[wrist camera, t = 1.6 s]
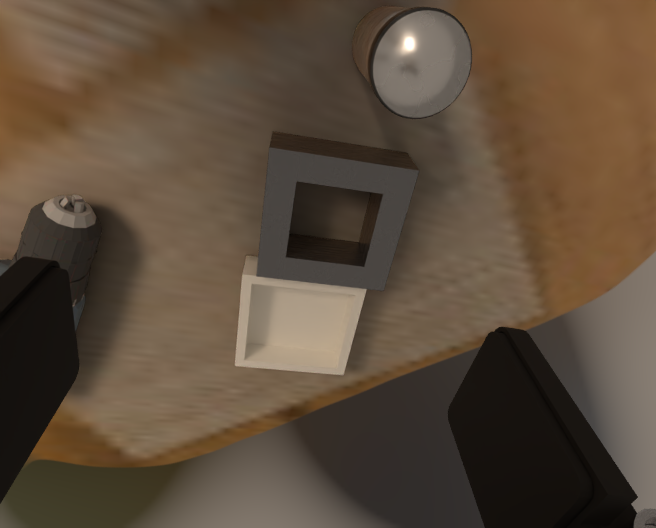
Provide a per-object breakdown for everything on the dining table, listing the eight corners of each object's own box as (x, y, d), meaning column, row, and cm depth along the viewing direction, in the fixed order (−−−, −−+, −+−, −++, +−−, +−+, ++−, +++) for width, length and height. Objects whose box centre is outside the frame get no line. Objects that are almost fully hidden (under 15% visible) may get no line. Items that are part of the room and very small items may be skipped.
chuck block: (272, 131, 27) (269, 147, 24) (407, 153, 29) (419, 170, 26) (260, 251, 32) (256, 276, 29) (376, 265, 33) (383, 290, 30)
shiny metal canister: (358, -4, 24) (385, -3, 16) (430, 11, 24) (488, 18, 17) (343, 77, 26) (361, 111, 18) (410, 89, 26) (454, 127, 19)
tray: (246, 255, 32) (242, 274, 30) (362, 269, 33) (367, 288, 31) (238, 343, 37) (234, 365, 35) (341, 353, 38) (343, 375, 36)
